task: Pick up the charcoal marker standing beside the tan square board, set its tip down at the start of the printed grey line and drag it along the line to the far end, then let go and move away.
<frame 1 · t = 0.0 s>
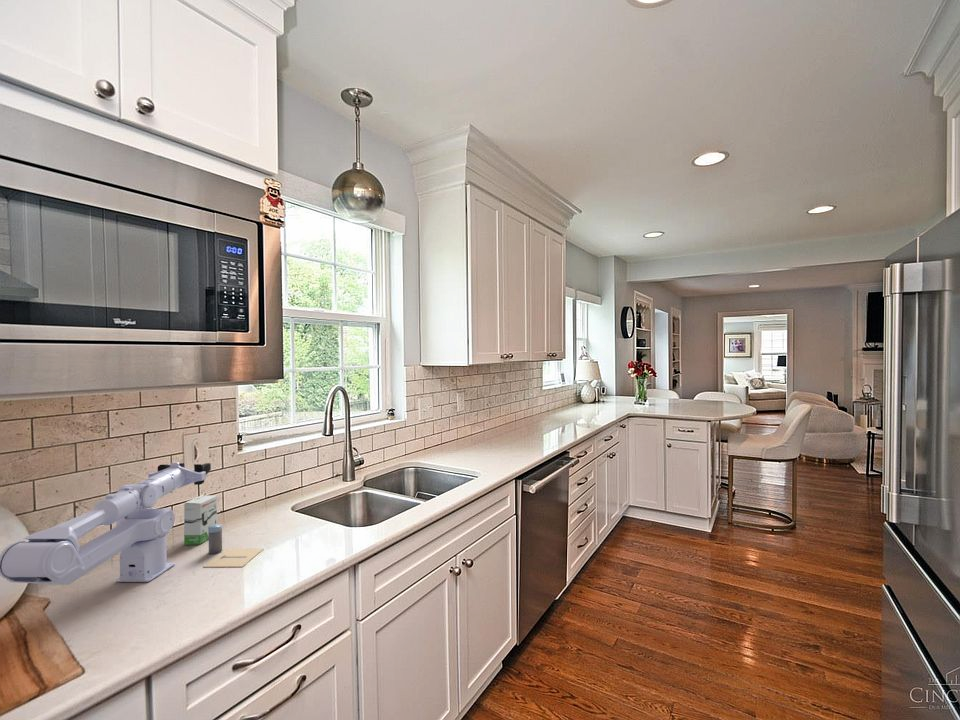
hand: (196, 466, 134), 22 cm above the counter, tool horizontal, fingers open, 7 cm apart
ink box: (201, 539, 136), on the counter
marker: (215, 551, 127), on the counter
tan square board: (234, 557, 123), on the counter
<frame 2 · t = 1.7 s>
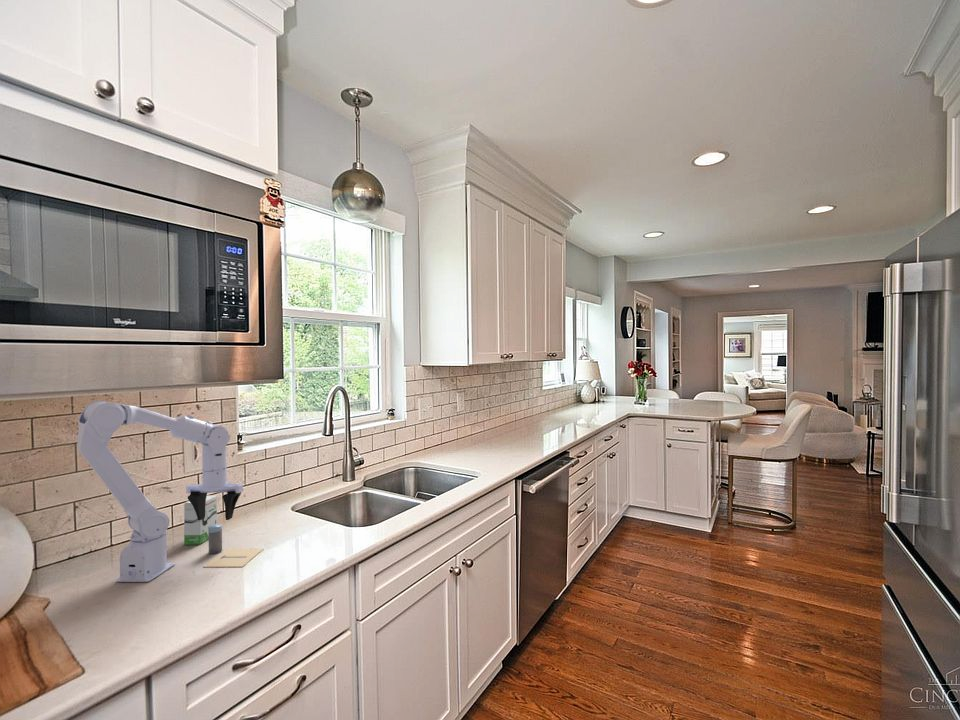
hand: (215, 518, 127), 9 cm above the counter, tool pointing down, fingers open, 7 cm apart
nothing on the counter moved.
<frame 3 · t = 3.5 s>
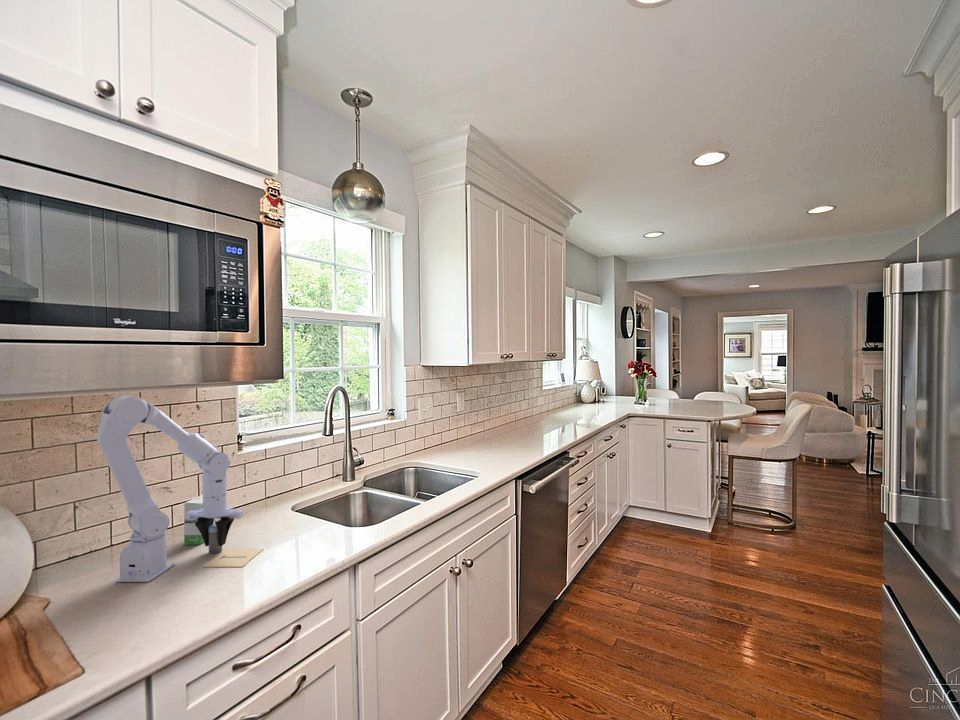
hand: (215, 544, 127), 2 cm above the counter, tool pointing down, fingers closed on marker, 3 cm apart
marker: (215, 551, 127), on the counter, touching gripper
everything else where it was.
when the fingers open (2 cm above the counter, at t = 7.9 s): marker stays where it is, resting on tan square board.
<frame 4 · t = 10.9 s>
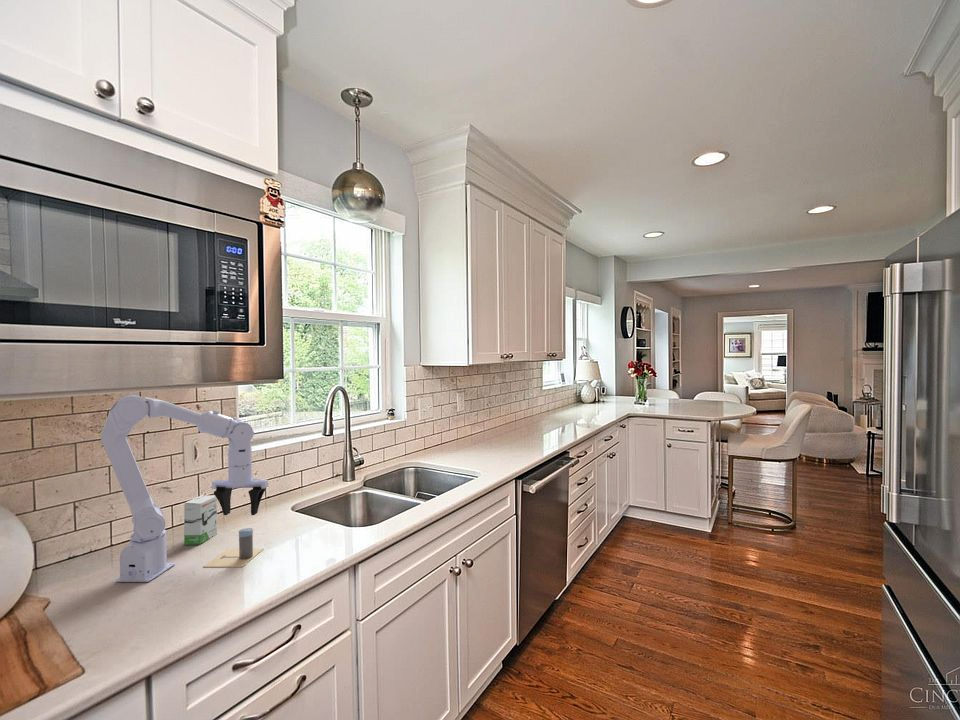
hand: (240, 514, 128), 10 cm above the counter, tool pointing down, fingers open, 7 cm apart
marker: (246, 556, 123), resting on tan square board
everything else where it was.
at the end: marker 0.1 cm from the target spot, resting on tan square board; marker tilted 0°; the gripper is holding nothing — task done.
